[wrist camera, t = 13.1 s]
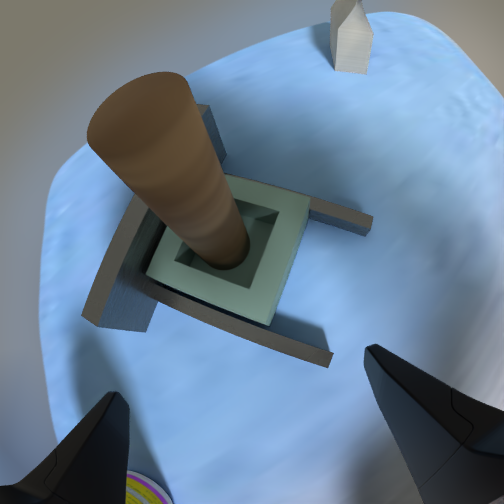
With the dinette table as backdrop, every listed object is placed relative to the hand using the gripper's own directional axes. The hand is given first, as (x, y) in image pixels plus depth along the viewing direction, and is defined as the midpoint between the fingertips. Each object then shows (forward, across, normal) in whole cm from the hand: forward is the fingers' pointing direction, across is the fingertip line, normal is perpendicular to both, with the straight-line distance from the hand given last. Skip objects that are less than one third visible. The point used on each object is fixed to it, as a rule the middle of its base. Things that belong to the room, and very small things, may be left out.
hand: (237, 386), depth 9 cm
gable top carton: (+26, -18, -16) cm, 35 cm away
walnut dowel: (+12, 0, 0) cm, 12 cm away
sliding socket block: (+12, 0, 0) cm, 12 cm away
